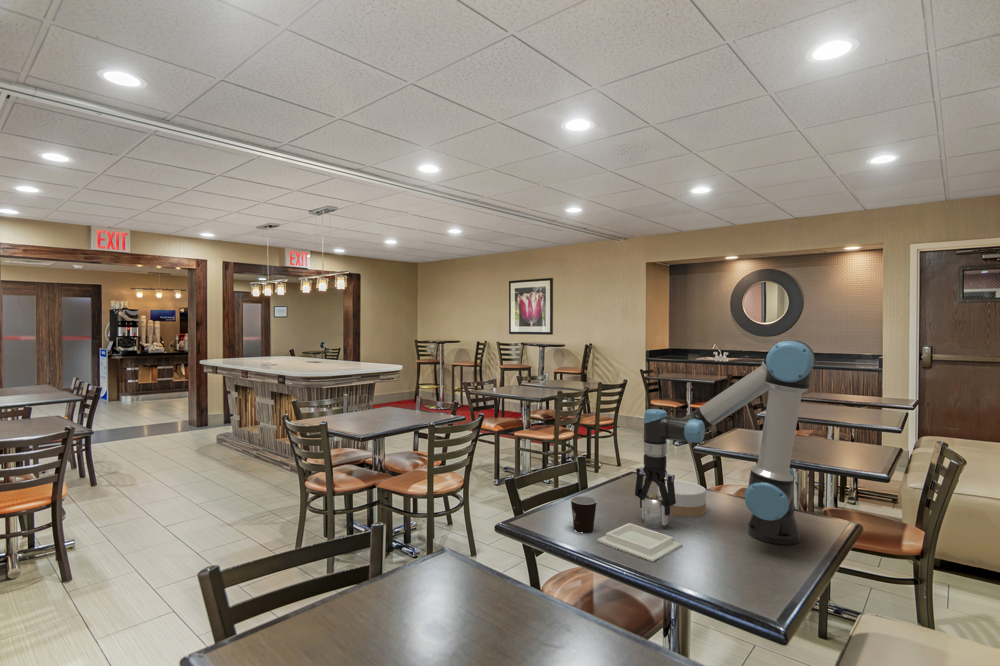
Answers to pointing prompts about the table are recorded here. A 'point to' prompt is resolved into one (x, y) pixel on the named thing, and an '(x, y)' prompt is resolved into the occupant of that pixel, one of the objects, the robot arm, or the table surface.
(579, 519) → the coffee mug
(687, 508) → the bowl
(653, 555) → the guarded tray
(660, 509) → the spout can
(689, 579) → the table surface
